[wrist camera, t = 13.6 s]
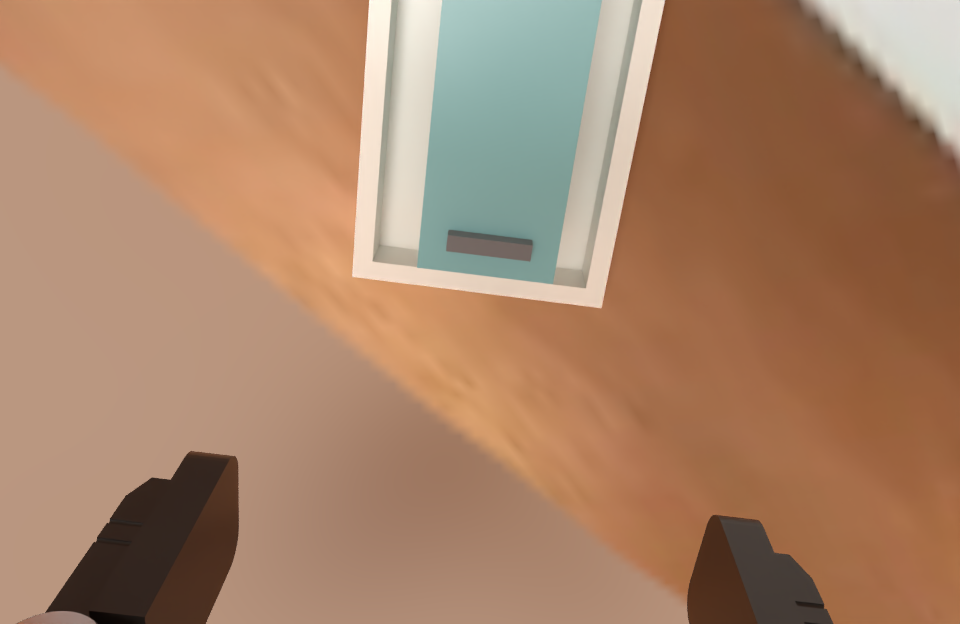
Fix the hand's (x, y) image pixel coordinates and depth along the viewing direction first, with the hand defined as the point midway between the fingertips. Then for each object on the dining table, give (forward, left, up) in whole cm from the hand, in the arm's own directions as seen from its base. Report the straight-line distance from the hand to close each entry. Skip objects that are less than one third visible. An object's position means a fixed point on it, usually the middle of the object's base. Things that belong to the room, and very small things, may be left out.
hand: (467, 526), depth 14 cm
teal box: (0, -4, -22) cm, 23 cm away
